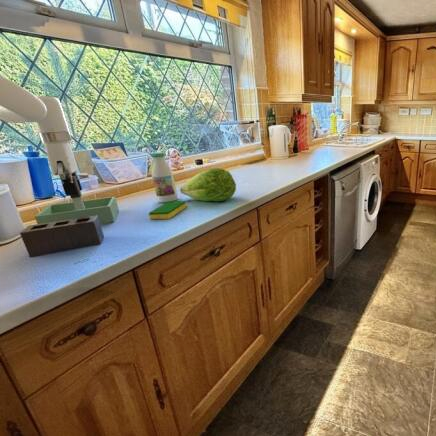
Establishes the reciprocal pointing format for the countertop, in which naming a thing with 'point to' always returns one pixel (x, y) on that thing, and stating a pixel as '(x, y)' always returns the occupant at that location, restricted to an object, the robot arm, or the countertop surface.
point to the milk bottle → (163, 179)
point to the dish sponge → (167, 210)
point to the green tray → (80, 211)
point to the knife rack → (62, 235)
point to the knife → (77, 196)
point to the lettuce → (210, 185)
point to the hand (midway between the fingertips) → (74, 192)
